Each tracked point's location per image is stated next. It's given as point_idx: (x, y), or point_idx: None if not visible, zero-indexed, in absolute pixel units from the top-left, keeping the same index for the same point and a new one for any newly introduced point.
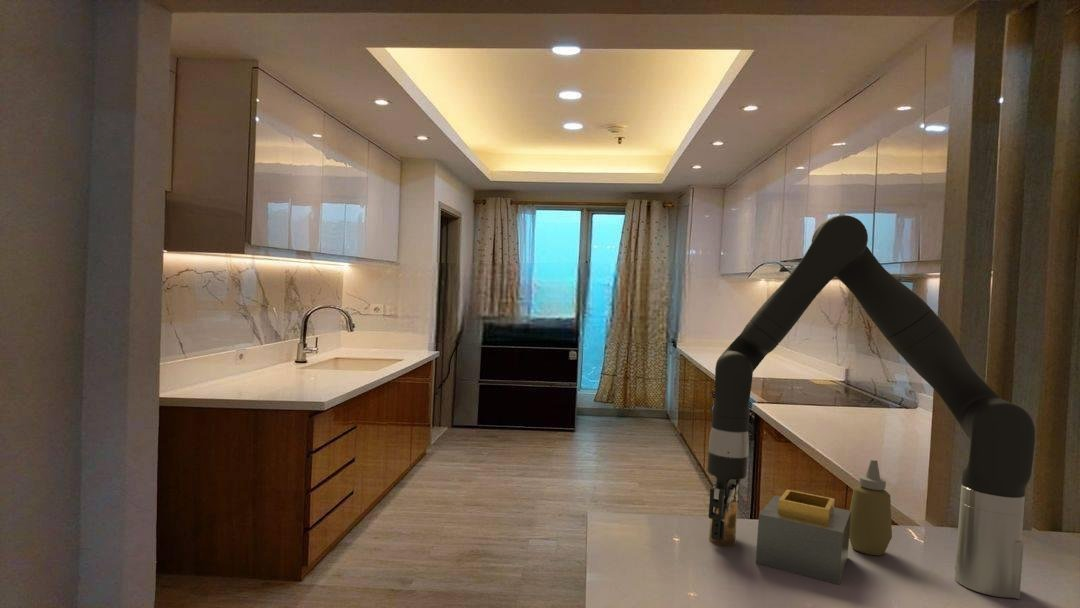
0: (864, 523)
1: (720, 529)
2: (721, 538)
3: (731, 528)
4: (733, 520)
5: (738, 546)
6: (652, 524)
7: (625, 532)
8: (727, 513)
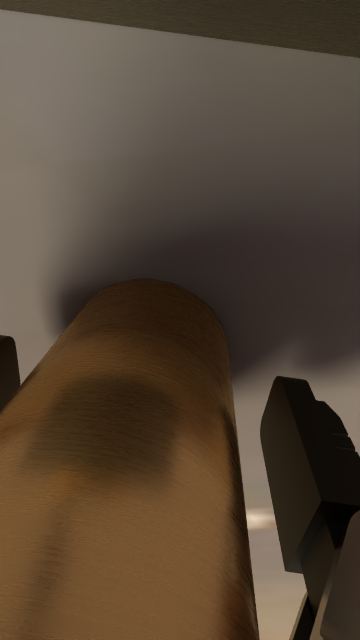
0: None
1: (348, 457)
2: (305, 389)
3: (204, 372)
4: (182, 417)
5: (182, 252)
6: None
7: (277, 629)
8: (244, 563)
